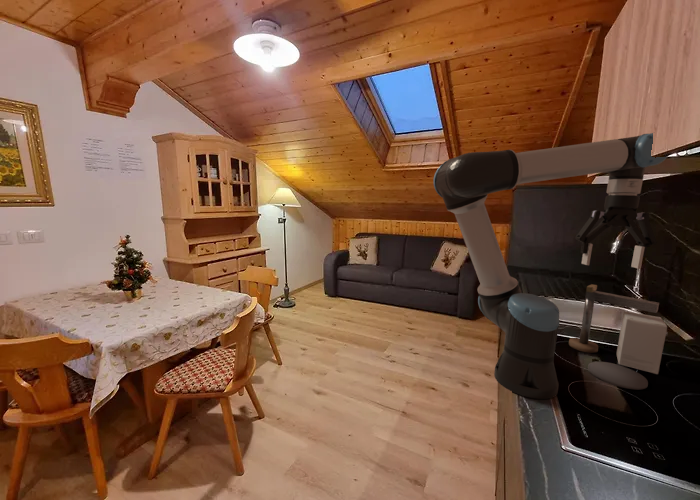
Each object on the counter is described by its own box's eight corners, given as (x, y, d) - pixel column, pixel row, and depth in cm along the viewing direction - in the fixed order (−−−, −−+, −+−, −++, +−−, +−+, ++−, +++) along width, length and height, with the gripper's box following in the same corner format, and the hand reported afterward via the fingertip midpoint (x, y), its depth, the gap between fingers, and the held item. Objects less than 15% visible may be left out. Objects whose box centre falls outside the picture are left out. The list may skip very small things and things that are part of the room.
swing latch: (577, 343, 104) (585, 286, 101) (581, 339, 108) (589, 284, 104) (646, 364, 91) (658, 299, 88) (649, 359, 94) (660, 296, 91)
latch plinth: (588, 354, 100) (588, 350, 100) (563, 343, 107) (563, 339, 107) (603, 350, 103) (604, 346, 103) (578, 340, 110) (578, 336, 110)
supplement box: (659, 375, 89) (668, 326, 86) (618, 365, 94) (626, 318, 92) (653, 362, 96) (662, 317, 93) (615, 353, 101) (623, 310, 99)
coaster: (630, 393, 80) (630, 391, 79) (577, 368, 91) (578, 366, 91) (658, 383, 84) (658, 381, 84) (604, 360, 96) (605, 358, 96)
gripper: (582, 193, 88) (571, 265, 91) (683, 196, 84) (668, 271, 87) (568, 193, 95) (558, 260, 99) (661, 196, 91) (647, 266, 94)
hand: (610, 266), depth 93 cm, fingers open, 13 cm apart
